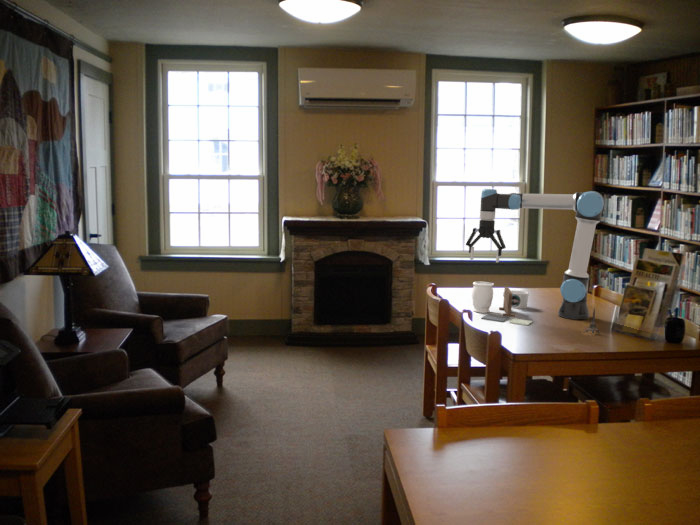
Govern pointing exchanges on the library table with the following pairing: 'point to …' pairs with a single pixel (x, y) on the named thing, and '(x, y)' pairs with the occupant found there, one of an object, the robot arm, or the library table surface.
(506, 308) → the screen
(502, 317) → the grey mat
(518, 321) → the sage mat
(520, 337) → the library table surface
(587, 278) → the robot arm
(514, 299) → the mug
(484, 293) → the jar
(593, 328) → the eiffel tower figurine
